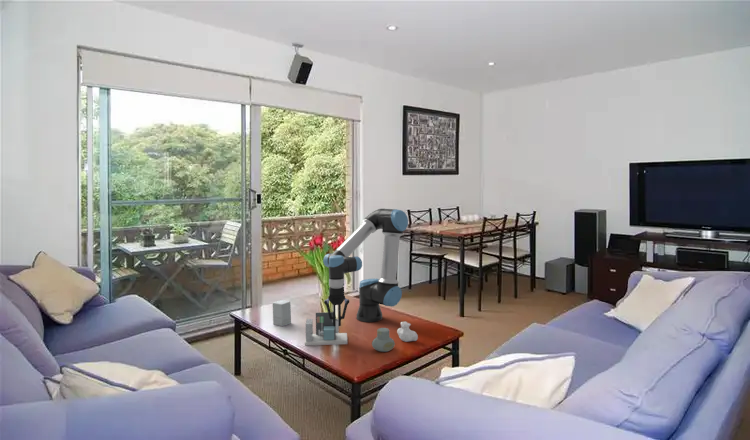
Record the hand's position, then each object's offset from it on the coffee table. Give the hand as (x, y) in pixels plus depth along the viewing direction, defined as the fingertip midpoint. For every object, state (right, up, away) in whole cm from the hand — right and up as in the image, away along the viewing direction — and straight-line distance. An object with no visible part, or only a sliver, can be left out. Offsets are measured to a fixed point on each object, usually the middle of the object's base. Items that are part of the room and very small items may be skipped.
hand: (337, 332), depth 232 cm
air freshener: (+23, -6, -11) cm, 27 cm away
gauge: (-5, -3, +1) cm, 6 cm away
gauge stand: (-6, -4, +1) cm, 7 cm away
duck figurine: (+35, -5, +1) cm, 35 cm away
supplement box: (-33, -2, +28) cm, 43 cm away
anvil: (-14, -3, -1) cm, 14 cm away
